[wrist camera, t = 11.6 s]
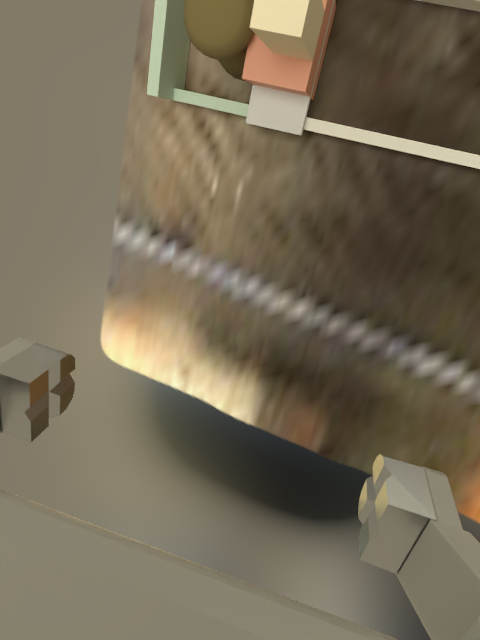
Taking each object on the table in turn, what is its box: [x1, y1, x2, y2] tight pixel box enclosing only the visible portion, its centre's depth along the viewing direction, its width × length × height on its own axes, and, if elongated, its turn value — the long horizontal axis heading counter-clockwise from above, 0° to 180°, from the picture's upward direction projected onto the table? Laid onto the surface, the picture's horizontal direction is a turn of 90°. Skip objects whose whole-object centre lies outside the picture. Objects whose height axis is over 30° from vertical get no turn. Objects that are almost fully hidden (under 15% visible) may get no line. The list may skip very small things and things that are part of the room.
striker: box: [242, 0, 336, 135], centre depth 30 cm, size 5×13×16 cm, turn 168°
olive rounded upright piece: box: [183, 0, 254, 81], centre depth 33 cm, size 6×6×11 cm
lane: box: [147, 0, 480, 169], centre depth 34 cm, size 30×12×6 cm, turn 78°
